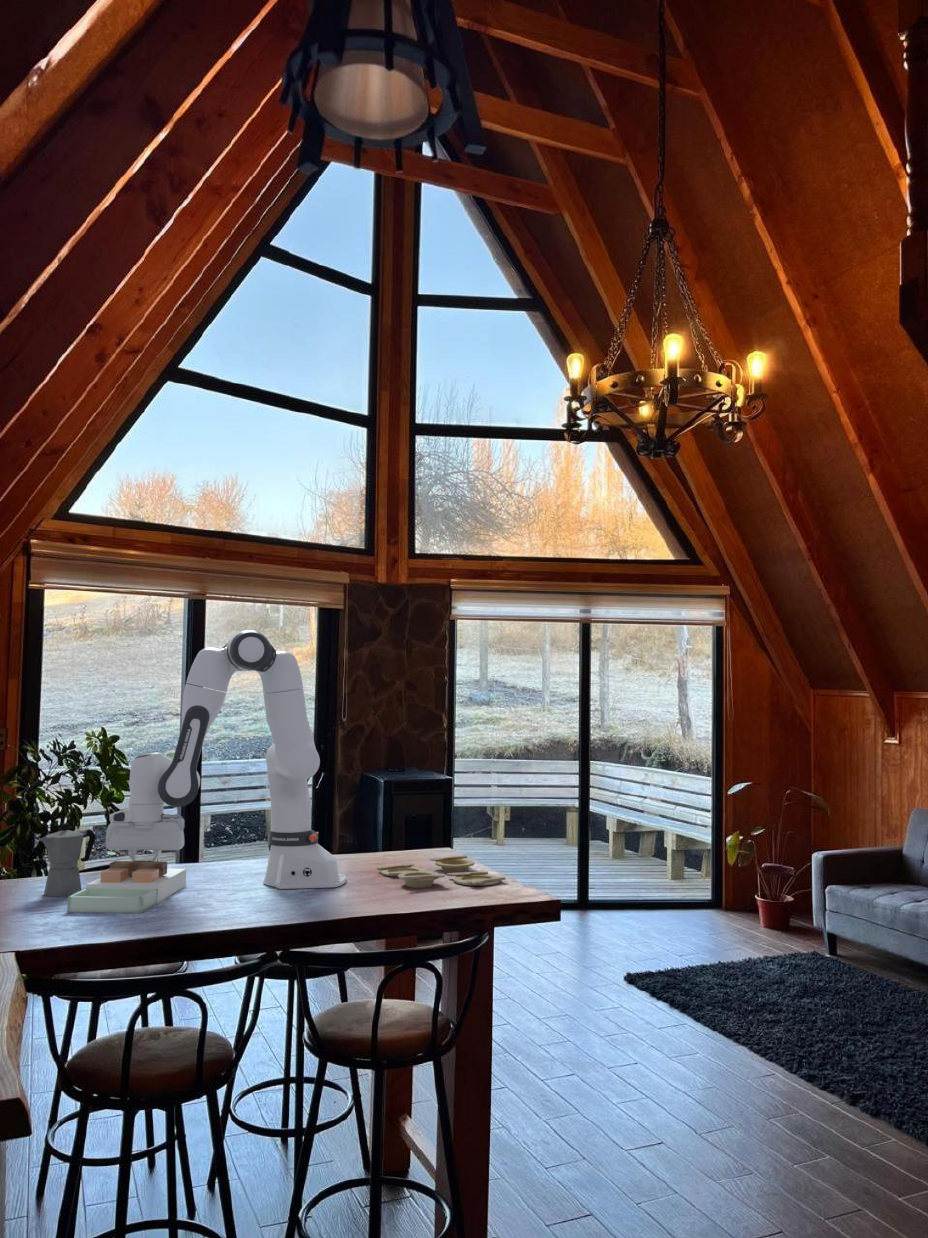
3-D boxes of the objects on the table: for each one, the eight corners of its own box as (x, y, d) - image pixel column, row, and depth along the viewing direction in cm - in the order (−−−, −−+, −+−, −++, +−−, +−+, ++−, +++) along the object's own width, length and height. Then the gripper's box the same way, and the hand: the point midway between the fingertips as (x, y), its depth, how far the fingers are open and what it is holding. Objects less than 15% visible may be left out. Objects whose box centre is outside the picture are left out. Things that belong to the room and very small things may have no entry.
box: (157, 903, 230) (157, 889, 230) (141, 913, 220) (142, 898, 220) (85, 902, 230) (86, 888, 231) (67, 912, 220) (67, 897, 221)
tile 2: (128, 878, 238) (128, 868, 238) (120, 882, 233) (120, 872, 233) (108, 878, 238) (109, 868, 238) (100, 882, 233) (100, 872, 233)
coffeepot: (48, 900, 233) (51, 827, 234) (28, 895, 238) (31, 824, 240) (104, 890, 245) (106, 821, 246) (83, 885, 251) (86, 818, 252)
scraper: (177, 867, 250) (178, 856, 250) (162, 875, 239) (163, 863, 239) (126, 867, 251) (127, 855, 251) (109, 875, 240) (109, 863, 240)
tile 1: (158, 878, 237) (159, 868, 238) (151, 882, 233) (151, 872, 233) (139, 878, 238) (139, 868, 238) (131, 882, 233) (132, 872, 233)
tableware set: (511, 887, 252) (511, 872, 252) (409, 896, 241) (409, 880, 241) (464, 865, 284) (464, 851, 285) (372, 871, 273) (372, 857, 274)
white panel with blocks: (185, 885, 250) (186, 869, 251) (157, 903, 230) (157, 885, 230) (120, 885, 251) (120, 868, 252) (85, 902, 230) (86, 884, 231)
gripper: (188, 812, 249) (187, 865, 248) (113, 812, 250) (112, 864, 248) (180, 815, 242) (179, 869, 241) (103, 815, 243) (101, 868, 242)
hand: (144, 867), depth 245 cm, fingers closed on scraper, 3 cm apart
